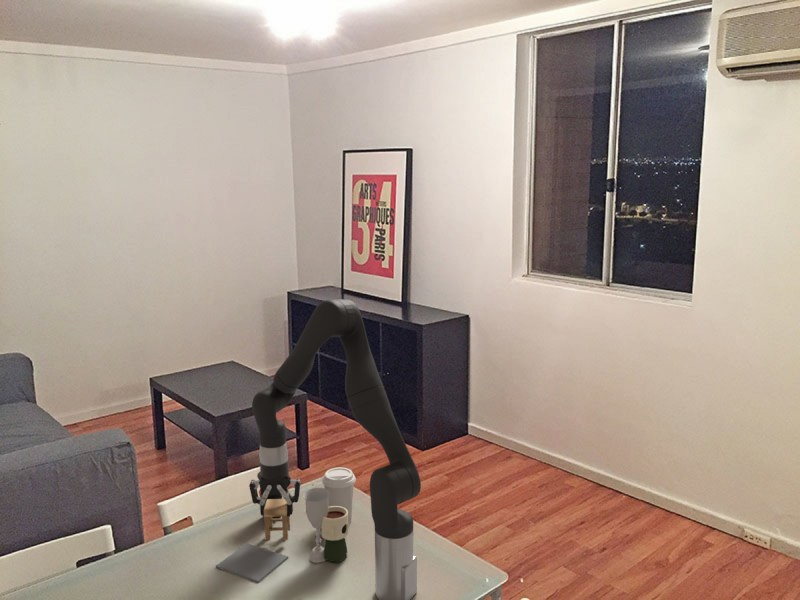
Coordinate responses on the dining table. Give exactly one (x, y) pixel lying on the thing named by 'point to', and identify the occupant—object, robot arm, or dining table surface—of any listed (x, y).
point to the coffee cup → (340, 488)
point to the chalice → (317, 517)
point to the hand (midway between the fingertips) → (276, 515)
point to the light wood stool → (276, 510)
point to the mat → (252, 562)
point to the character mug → (335, 533)
